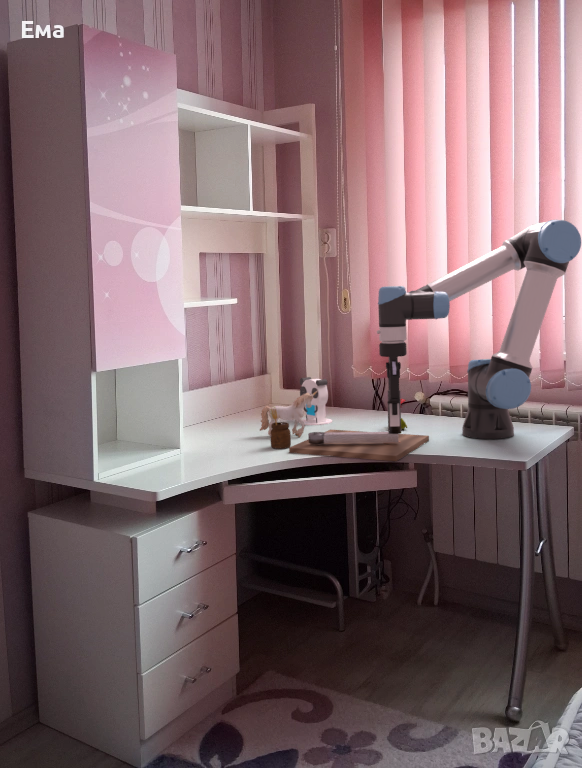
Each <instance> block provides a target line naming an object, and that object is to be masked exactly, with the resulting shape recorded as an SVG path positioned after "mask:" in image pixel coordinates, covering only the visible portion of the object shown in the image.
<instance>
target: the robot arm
mask: <svg viewBox="0 0 582 768" xmlns="http://www.w3.org/2000/svg"><path fill="white" fill-rule="evenodd" d="M581 247H582V237H581V233H580V231H579V230H578V228H577V227H576V225H574V224H573V223H572V222H570V221H568V220H564V219H550V220H548V221H544V222H537V223H534V224H532V225H530V226H528V227H526V228H525V229H523V230H522V231H520V232H518V233H516V234H515V235H513V236H511V237H510V238H508V239H506V240H504V241H503V242H502V244H501V246H500V247H498V248H496V249H494V250H492V251H490V252H488V253H486V254H484V255H482V256H481V257H478V258H475V260H472V261H471V262H468V263H467V264H464V265H463V266H460V267H459V268H457V269H455V270H453V271H451V272H449V273H447V274H445V275H443V276H441V277H439V278H437V279H435V280H433V281H431V282H429V283H426V285H423V286H422V287H420V288H418V289H415V290H410V291H409V292H407V291H406V287H405V286H404V285H394V286H393V285H392V286H391V285H389V286H381V287H380V288H379V289H378V297H377V298H378V299H377V300H378V302H377V305H378V307H377V309H378V329H379V330H378V329H377V330H376V334H377V335H379V336H378V338H379V342H380V343H379V344H378V345H379V346H378V347H379V349H378V350H379V351H378V352H379V356H380V357H382V358H388V362H385V369H386V376H387V379H388V380H387V381H388V390H390V401H388V400H387V404H386V405H388V404H389V406H390V427H391V426H400V412H399V402H400V399H399V390H400V378H401V368H402V367H401V362H400V361H398V359H399V358H398V357H405V356H406V355H407V343H406V342H405V341H407V320H409V321H412V320H432V319H433V320H438V319H446V318H447V317H448V316H449V313H450V308H451V307H450V305H451V304H450V302H452V301H453V300H455V299H458V298H459V297H462V296H463V295H465V294H467V293H469V292H471V291H473V290H476V289H477V288H480V287H481V286H483V285H485V284H487V283H489V282H492V281H493V280H495V279H497V278H499V277H501V276H503V275H505V274H506V273H509V272H510V271H513V270H514V271H517V272H519V271H521V270H522V269H524V268H526V272H525V275H524V278H523V280H522V283H521V287H520V289H519V293H518V296H517V299H516V302H515V305H514V307H513V309H512V312H511V317H510V319H509V321H508V325H507V327H506V331H505V334H504V337H503V340H502V342H501V345H500V348H499V351H498V352H495V353H493V354H492V355H491V358H485V359H484V358H482V359H472V360H469V362H468V364H467V371H466V372H467V401H468V402H467V404H468V405H467V412H466V414H465V418H464V420H463V424H462V429H461V430H462V431H461V432H462V433H461V434H462V435H463V436H464V437H468V438H473V439H482V440H499V439H507V438H511V437H513V436H514V435H515V434H514V433H515V428H514V425H513V422H512V418H511V415H510V412H509V410H513V409H516V408H519V407H521V406H523V404H524V403H526V402H527V400H528V399H529V397H530V395H531V392H532V383H531V380H530V377H531V374H532V370H533V368H534V367H533V365H532V363H531V361H530V360H531V356H532V354H533V350H534V348H535V344H536V342H537V340H538V339H537V338H538V335H539V334H540V330H541V327H542V325H543V321H544V318H545V315H546V312H547V309H548V307H549V305H550V300H551V298H552V295H553V292H554V289H555V286H556V285H557V281H558V279H559V278H561V277H562V276H565V275H566V272H567V270H568V268H569V267H568V266H569V264H570V262H571V261H573V259H575V258H576V257H577V256H578V254H579V252H580V250H581V249H582V248H581Z"/></svg>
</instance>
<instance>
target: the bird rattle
mask: <svg viewBox="0 0 582 768" xmlns="http://www.w3.org/2000/svg"><path fill="white" fill-rule="evenodd" d="M405 402H406V399H404V398H401V409H402V408H403V407H402V404H403V403H405ZM404 429H408V426H407V423H406V421H405V420H404V419H403V418H402V417H401V430H404Z"/></svg>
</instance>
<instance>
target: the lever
mask: <svg viewBox="0 0 582 768" xmlns="http://www.w3.org/2000/svg"><path fill="white" fill-rule="evenodd" d="M399 399H400V402H399V412H400V426H391V427H390V406H389V404H387V429H388V430H387V431H363V432H326V431H324V432H325V433H324V432H323V431H313V432H309V433H308V439H309V443H310V444H323V443H397V442H399V441H398V434H402V429H401V418H402V408H401V406H402V404H401V399H402V398H401V389H399ZM387 401H390V390H389V389H388V390H387ZM308 439H307V440H308Z"/></svg>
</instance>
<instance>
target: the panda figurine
mask: <svg viewBox="0 0 582 768" xmlns="http://www.w3.org/2000/svg"><path fill="white" fill-rule="evenodd" d="M299 385H300V388H299V389H300V390H299V397H300V396H301V395H303V394H306V393H309V394H310V395H312V394H313V393H314V392H316V391H317V390H318V392H317V393H316V394H315V395H314V396H313V399H312V401H311V405H312V406H311V407H310V408H308V407H307V404H305V407H304V413H305V418H304V419H302V420H303V422H304V423H305V426H322V425H323V426H324V425H328V424H333V419H330V418H327V416H326V415H327V413H326V404H327V403H328V399H329V390H328V386H327V385H328V380H327V378H326V379H325V378H323V379H321V378H312V377H311V376H306V377H300V379H299Z"/></svg>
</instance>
